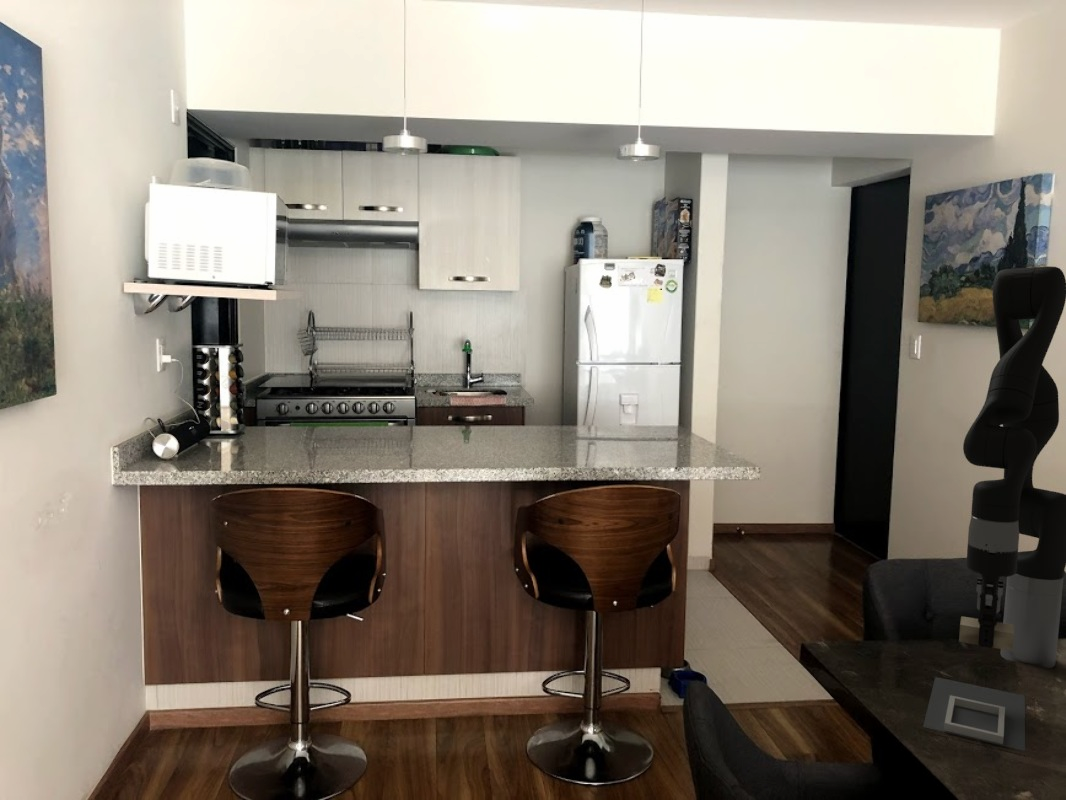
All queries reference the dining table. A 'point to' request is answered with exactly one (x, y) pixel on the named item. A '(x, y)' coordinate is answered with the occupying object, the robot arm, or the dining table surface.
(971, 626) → the tan rectangular block
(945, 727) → the slot frame
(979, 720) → the mat
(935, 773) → the dining table surface
